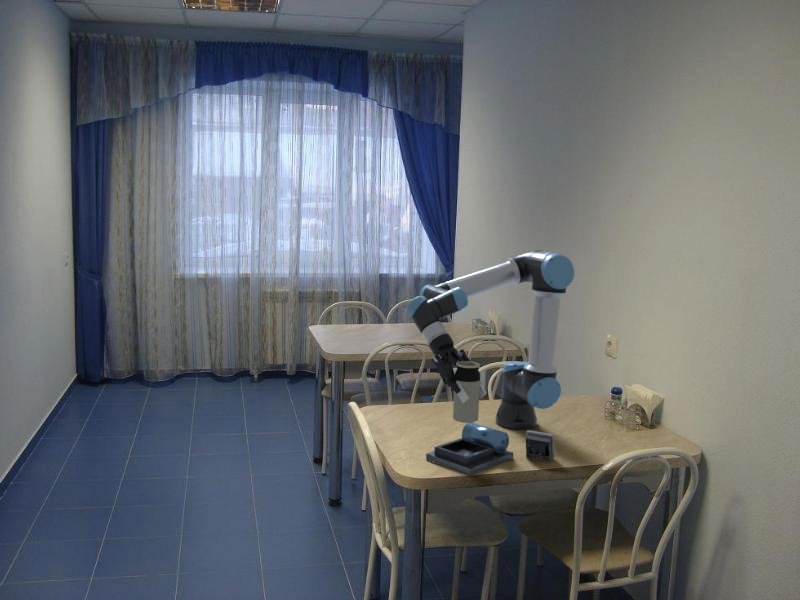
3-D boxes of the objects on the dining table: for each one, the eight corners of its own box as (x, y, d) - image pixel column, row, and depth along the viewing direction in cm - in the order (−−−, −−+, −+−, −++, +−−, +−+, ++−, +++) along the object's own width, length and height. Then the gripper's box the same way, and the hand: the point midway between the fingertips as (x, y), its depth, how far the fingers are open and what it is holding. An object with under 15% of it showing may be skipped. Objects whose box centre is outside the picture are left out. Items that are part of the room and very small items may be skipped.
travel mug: (469, 425, 245) (472, 368, 243) (447, 419, 250) (450, 363, 247) (482, 419, 252) (485, 363, 249) (461, 414, 256) (464, 359, 254)
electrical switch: (555, 459, 258) (556, 432, 255) (551, 465, 253) (552, 438, 251) (526, 454, 261) (527, 428, 259) (522, 460, 257) (523, 433, 255)
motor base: (469, 444, 269) (470, 418, 268) (513, 458, 257) (514, 431, 255) (426, 459, 253) (427, 432, 252) (470, 475, 241) (471, 446, 240)
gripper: (452, 341, 266) (488, 398, 257) (409, 350, 251) (446, 410, 242) (465, 328, 261) (502, 386, 253) (422, 336, 246) (460, 397, 238)
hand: (474, 398), depth 247 cm, fingers closed on travel mug, 8 cm apart
